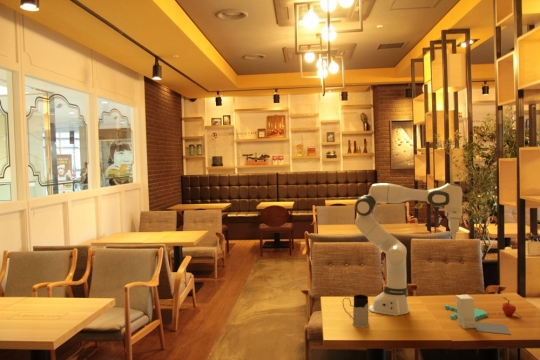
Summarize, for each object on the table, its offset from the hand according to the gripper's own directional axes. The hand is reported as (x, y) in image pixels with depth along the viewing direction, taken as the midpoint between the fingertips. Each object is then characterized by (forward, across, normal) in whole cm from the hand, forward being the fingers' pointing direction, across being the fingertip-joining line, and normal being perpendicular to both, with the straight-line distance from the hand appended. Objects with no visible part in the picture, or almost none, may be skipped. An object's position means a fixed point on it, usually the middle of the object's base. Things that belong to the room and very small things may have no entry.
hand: (453, 237), depth 260 cm
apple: (+44, -10, +30) cm, 54 cm away
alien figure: (+45, -6, +8) cm, 46 cm away
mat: (+44, +14, +18) cm, 49 cm away
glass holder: (+45, +25, -50) cm, 72 cm away
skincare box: (+44, +14, +6) cm, 47 cm away
